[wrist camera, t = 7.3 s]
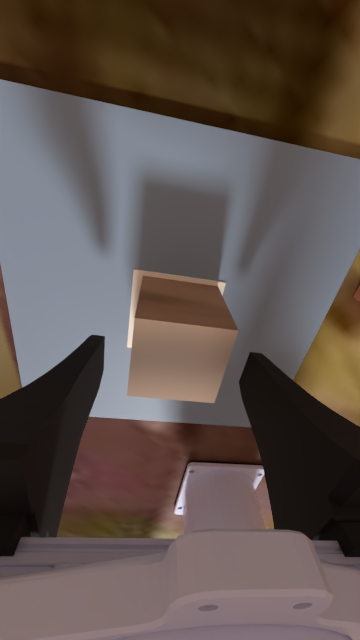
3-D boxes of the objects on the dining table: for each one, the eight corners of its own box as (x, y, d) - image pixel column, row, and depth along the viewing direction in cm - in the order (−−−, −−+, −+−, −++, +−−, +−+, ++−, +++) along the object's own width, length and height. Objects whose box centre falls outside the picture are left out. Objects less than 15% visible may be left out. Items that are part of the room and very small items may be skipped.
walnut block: (202, 346, 18) (214, 403, 13) (136, 339, 17) (126, 396, 13) (217, 286, 16) (238, 330, 11) (143, 275, 15) (134, 317, 11)
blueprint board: (266, 422, 23) (268, 429, 23) (30, 406, 21) (25, 413, 20) (391, 168, 14) (402, 168, 13) (-24, 76, 11) (-35, 70, 10)
